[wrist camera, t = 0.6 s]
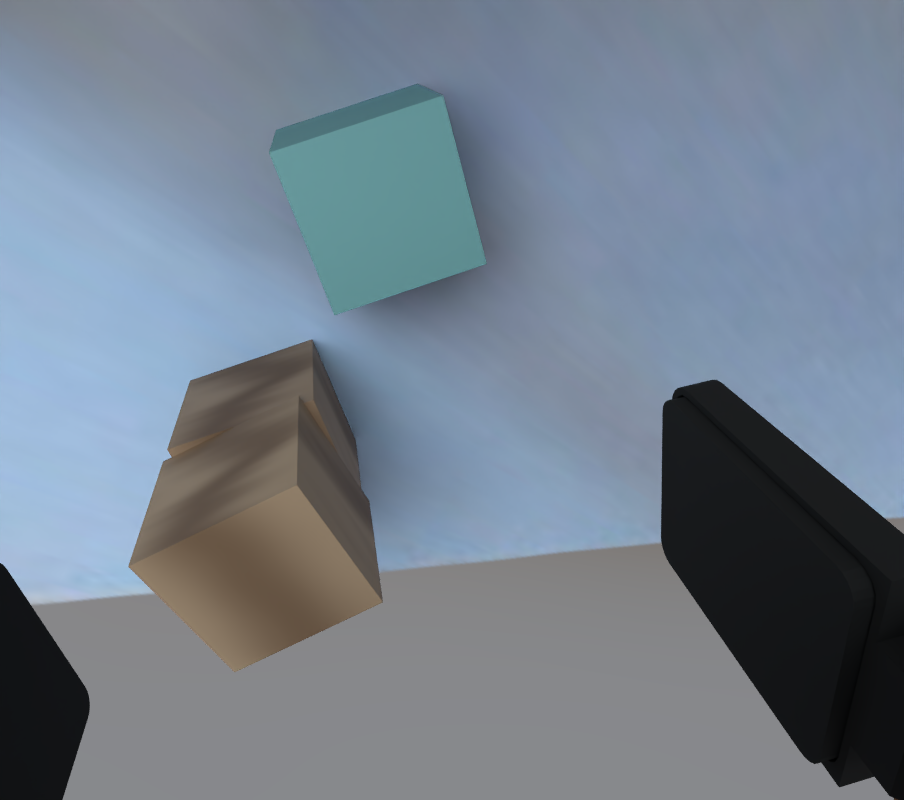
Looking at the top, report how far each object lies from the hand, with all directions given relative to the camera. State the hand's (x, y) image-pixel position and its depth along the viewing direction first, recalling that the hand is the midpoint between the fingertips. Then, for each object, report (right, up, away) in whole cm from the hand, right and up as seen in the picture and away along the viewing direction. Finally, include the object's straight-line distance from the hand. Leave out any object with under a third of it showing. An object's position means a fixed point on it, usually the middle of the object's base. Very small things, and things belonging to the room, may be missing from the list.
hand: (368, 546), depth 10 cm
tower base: (-7, +1, +23) cm, 24 cm away
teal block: (-2, +11, +19) cm, 22 cm away
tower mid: (-6, -1, +18) cm, 19 cm away
